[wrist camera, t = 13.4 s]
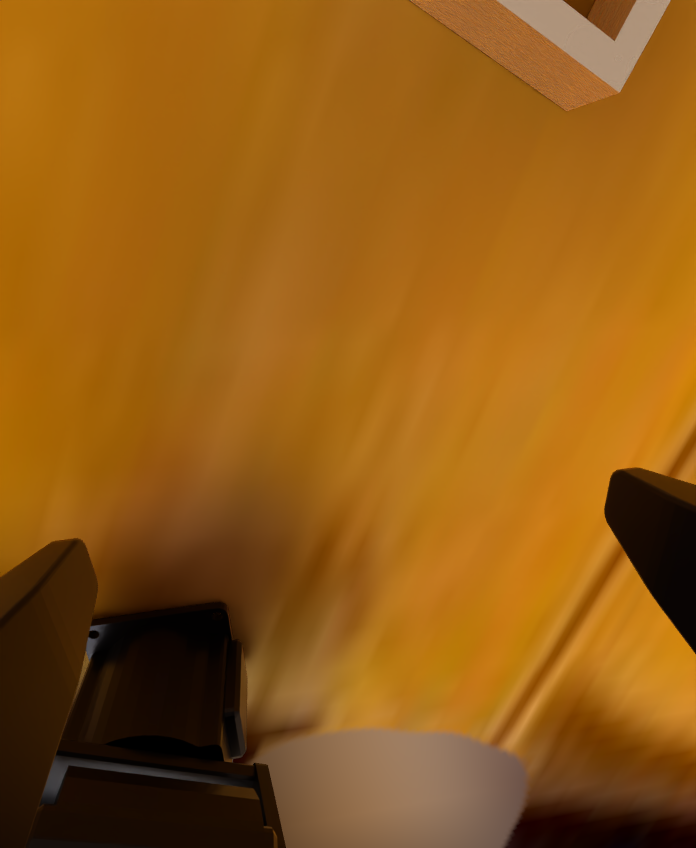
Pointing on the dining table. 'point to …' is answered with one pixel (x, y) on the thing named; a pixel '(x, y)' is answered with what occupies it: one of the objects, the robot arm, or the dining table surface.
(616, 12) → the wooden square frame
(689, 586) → the robot arm
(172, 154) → the dining table surface
